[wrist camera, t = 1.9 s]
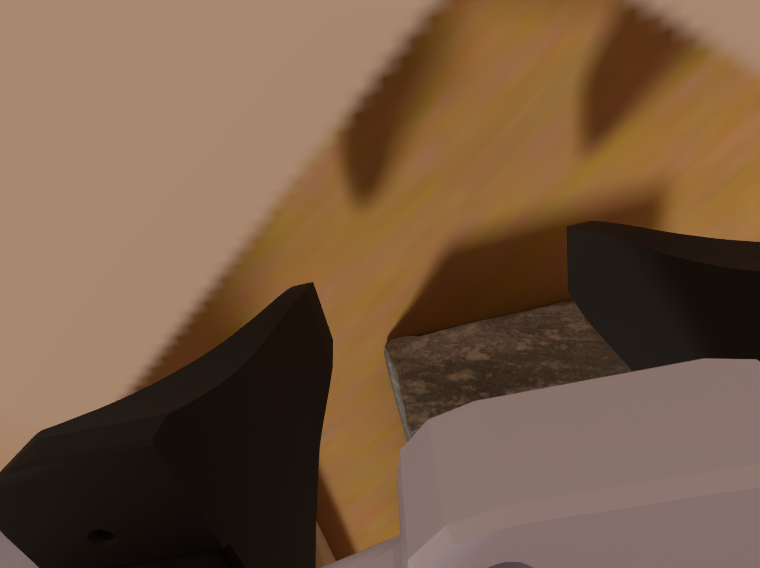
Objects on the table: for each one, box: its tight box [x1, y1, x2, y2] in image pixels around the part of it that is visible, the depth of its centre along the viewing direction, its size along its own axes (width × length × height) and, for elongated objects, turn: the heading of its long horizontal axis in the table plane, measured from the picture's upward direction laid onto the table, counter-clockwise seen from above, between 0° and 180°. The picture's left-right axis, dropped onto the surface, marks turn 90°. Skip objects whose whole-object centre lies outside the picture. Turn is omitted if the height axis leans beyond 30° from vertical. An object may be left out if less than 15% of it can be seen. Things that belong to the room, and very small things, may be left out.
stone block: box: [384, 300, 633, 442], centre depth 17 cm, size 9×14×5 cm, turn 13°
